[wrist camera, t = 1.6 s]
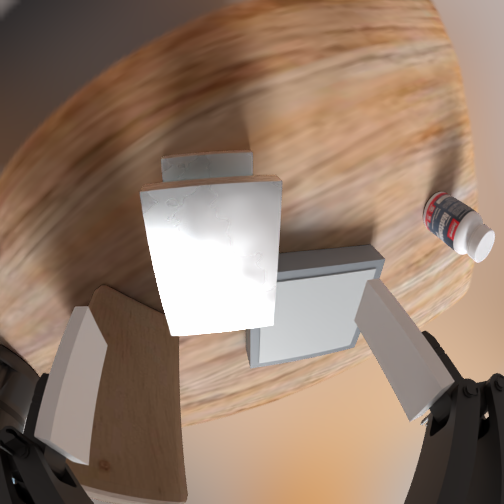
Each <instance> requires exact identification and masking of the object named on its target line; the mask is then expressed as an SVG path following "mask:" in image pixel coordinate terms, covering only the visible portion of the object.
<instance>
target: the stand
mask: <svg viewBox="0 0 504 504" xmlns="http://www.w3.org/2000/svg"><path fill="white" fill-rule="evenodd" d="M384 261H385V258H384V257H383V256H382V255H381V254H380V253H379V252H378V251H377V250H376V249H375V248H374V247H373V246H372V245H361V246H351V247H341V248H330V249H320V250H310V251H299V252H289V253H279V254H278V269H277V283H276V297H275V310H274V322H273V325H271V326H264V327H257V328H249V329H246V351H247V355H248V360H249V364H250V368H256V367H262V366H269V365H275V364H281V363H286V362H292V361H297V360H302V359H307V358H312V357H316V356H321V355H325V354H329V353H334V352H338V351H342V350H346V349H350V348H354V347H355V344H356V342H357V339H358V337H359V334H360V332H361V331H360V330H359V328H358V326H357V325H356V323H355V321H354V319H355V316H356V313H357V310H358V307H359V304H360V301H361V298H362V295H363V291H364V288H365V285H366V282H367V280H371V279H378V278H380V275H381V271H382V268H383V265H384Z"/></svg>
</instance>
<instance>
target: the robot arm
mask: <svg viewBox="0 0 504 504" xmlns="http://www.w3.org/2000/svg"><path fill="white" fill-rule="evenodd" d="M354 321H355V323H356V325H357V326H358V328H359V330H360V331H361V333H362V335H363V336H364V338H365V340H366V342H367V343H368V345H369V347H370V349H371V350H372V352H373V354H374V356H375V357H376V359H377V361H378V363H379V364H380V366H381V368H382V370H383V372H384V374H385V375H386V377H387V379H388V381H389V383H390V385H391V386H392V388H393V390H394V392H395V394H396V396H397V398H398V400H399V401H400V403H401V405H402V407H403V409H404V411H405V413H406V415H407V417H408V419H409V421H412V420H414V419H416V418H418V417H420V416H422V415H423V414H424V413H425V412H426V411H427V410H428V409H430V411H431V413H430V414H429V415H428V416H427V417H425V418H424V420H422V422H421V424H420V425H423V424H424V423H425V422H427V421H428V422H427V424H426V425H425V426H427V427H426V432H425V437H424V441H423V445H422V449H421V453H420V457H419V461H418V464H417V467H416V471H415V474H414V477H413V480H412V483H411V486H410V489H409V492H408V495H407V497H406V500H405V503H404V504H504V376H503V375H501V374H498V373H496V374H493V375H492V377H491V378H490V379H489V380H488V381H484V382H479V383H476V382H475V381H473V380H471V379H464V378H463V377H462V376H461V375H460V373H459V372H458V370H457V369H456V367H455V366H454V364H453V363H452V362H451V360H450V359H449V357H448V356H447V354H445V352H444V350H443V349H442V347H440V344H439V343H438V342H437V340H436V339H435V338H434V337H433V336H432V335H431V334H430V333H428V332H427V331H423V332H421V331H420V330H419V329H418V327H417V326H416V324H415V323H414V322H413V320H412V319H411V318H410V316H409V315H408V314H407V313H406V311H405V310H404V309H403V307H402V306H401V305H400V303H399V302H398V301H397V300H396V298H395V297H394V296H393V295H392V293H391V292H390V291H389V290H388V288H387V287H386V286H385V285H384V283H383V282H382V281H381V280H380V279H379V278H378V279H371V280H367V282H366V285H365V288H364V291H363V295H362V298H361V301H360V304H359V307H358V310H357V313H356V316H355V319H354ZM107 346H108V345H107V343H106V342H105V340H104V338H103V336H102V334H101V332H100V330H99V328H98V326H97V324H96V322H95V320H94V318H93V316H92V313H91V311H90V309H89V307H88V306H78V307H75V308H74V310H73V312H72V315H71V317H70V319H69V322H68V324H67V327H66V329H65V332H64V334H63V337H62V339H61V342H60V345H59V348H58V350H57V353H56V356H55V359H54V362H53V365H52V368H51V371H50V374H46V373H43V374H42V376H41V377H40V378H39V377H38V375H37V374H36V373H35V372H34V370H33V369H32V368H31V367H30V366H29V365H28V364H26V363H25V362H24V361H23V360H22V359H21V358H19V357H18V356H17V355H16V354H14V353H13V352H11V351H10V350H8V349H7V348H5V347H3V346H2V345H0V504H94V503H93V502H92V501H91V499H90V497H89V496H88V495H87V493H86V492H85V490H84V489H83V487H82V486H81V484H80V483H79V481H78V480H77V478H76V477H75V475H74V474H73V472H72V470H71V469H70V467H69V466H68V464H67V463H66V458H68V459H69V460H71V461H73V462H76V463H80V464H85V465H89V454H90V443H91V434H92V426H93V419H94V412H95V406H96V399H97V394H98V388H99V383H100V378H101V373H102V368H103V363H104V359H105V355H106V350H107ZM486 412H488V413H489V417H488V418H487V419H486V418H485V416H484V414H486ZM26 417H27V420H26V425H25V429H24V433H23V434H22V432H23V427H24V423H25V419H26Z"/></svg>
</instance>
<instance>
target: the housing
mask: <svg viewBox="0 0 504 504" xmlns="http://www.w3.org/2000/svg"><path fill="white" fill-rule="evenodd" d="M161 167H162V177H163V182H162V183H154V184H146V185H143V187H142V189H141V190H140V199H141V205H142V211H143V217H144V223H145V228H146V233H147V239H148V244H149V249H150V253H151V258H152V263H153V267H154V271H155V276H156V280H157V284H158V288H159V292H160V296H161V300H162V304H163V308H164V311H165V315H166V319H167V322H168V326H169V329H170V332H171V336H180V335H193V334H204V333H214V332H224V331H233V330H241V329H249V328H257V327H264V326H271V325H273V322H274V310H275V297H276V283H277V269H278V254H279V237H280V220H281V201H282V180H281V179H280V178H279V177H278V176H277V175H253V152H252V151H251V150H232V151H214V152H200V153H188V154H178V155H168V156H162V158H161Z"/></svg>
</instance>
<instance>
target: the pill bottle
mask: <svg viewBox="0 0 504 504" xmlns="http://www.w3.org/2000/svg"><path fill="white" fill-rule="evenodd" d="M423 221H424V224H425V226H426V228H427V229H428V230H430V231H431V232H432V233H433V234H435V235H436V236H437V237H439V238H440V239H441V240H442V241H444V242H445V243H446V244H447V245H448V246H450V247H451V248H452V249H453V250H454V251H456V252H457V253H459V254H468V255H469V257H470V258H472V259H473V260H474V261H475V262H481V261H483V260H484V259H485V258H486V257H487V255H488V254H489V252H490V250H491V248H492V246H493V243H494V239H495V233H494V231H493V230H492V229H491V228H489V227H488V226H487V225H485V224H483V221H482V218H481V216H480V215H479V213H477V212H476V211H475V210H473V209H472V208H470V207H468V206H467V205H465V204H464V203H462V202H461V201H459V200H457V199H456V198H454V197H452V196H451V195H449V194H447V193H445V192H438V193H436V194H434V195H433V196H432V197H431V198H430V199H429V201H428V202H427V204H426V206H425V209H424V214H423Z"/></svg>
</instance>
